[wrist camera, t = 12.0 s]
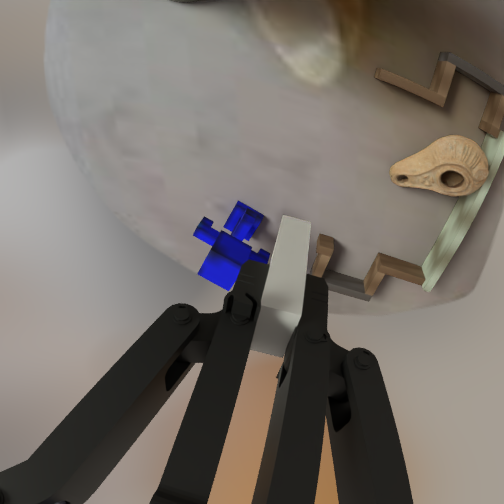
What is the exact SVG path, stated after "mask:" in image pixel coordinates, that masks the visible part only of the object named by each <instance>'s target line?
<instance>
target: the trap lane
mask: <svg viewBox="0 0 504 504" xmlns="http://www.w3.org/2000/svg"><path fill="white" fill-rule="evenodd" d="M455 70H456V71H458V72H460V73H461V74H463V75H465V76H467V77H468V78H470V79H472V80H473V81H475V82H477V83H478V84H480V85H481V86H483V87H485V88H486V89H488V90H489V91H491V92H490V95H489V99H488V102H487V105H486V108H485V111H484V114H483V116H482V119H481V122H480V125H479V128H480V129H482V130H483V131H485V132H486V136H485V139H484V141H483V144H482V146H481V149H482V150H483V152H484V153H485V155H486V157H487V160H488V171H489V174H488V176H487V179H486V181H485V182H484V184H483V185H482V186H481V187H480V188H479V189H478V190H476V191H475V192H473V193H471V194H470V195H463V196H459V198H458V200H457V202H456V205H455V207H454V209H453V210H452V212H451V214H450V216H449V218H448V220H447V222H446V224H445V226H444V228H443V230H442V231H441V233H440V235H439V237H438V239H437V241H436V242H435V244H434V246H433V248H432V249H431V251H430V253H429V255H428V256H427V258H426V260H425V261H424V263H423V265H422V266H421V267H420V266H417V265H415V264H412V263H409V262H406V261H403V260H400V259H397V258H394V257H391V256H388V255H385V254H382V253H378V254H377V256H376V258H375V260H374V262H373V264H372V266H371V268H370V270H369V272H368V273H367V275H366V277H365V279H364V281H363V280H360V279H357V278H353V277H350V276H347V275H343V274H340V273H337V272H333V271H330V270H327V269H326V266H327V264H328V262H329V260H330V257H331V255H332V253H333V251H334V240H333V238H332V237H329V236H326V235H323V234H319V237H318V239H317V251H316V253H318V254H317V257H316V259H315V262H314V264H313V266H312V269H311V271H310V275H314V276H317V277H321V278H324V279H325V281H326V283H327V285H328V290H330V291H334V292H337V293H341V294H344V295H348V296H351V297H355V298H358V299H362V300H365V301H370V299H371V297H372V296H373V294H374V292H375V291H376V289H377V287H378V286H379V284H380V282H381V280H382V279H383V277H384V275H385V274H387V275H390V276H393V277H396V278H399V279H403V280H406V281H409V282H412V283H415V284H418V285H421V286H422V288H423V290H424V291H427V292H430V291H431V290H432V288H433V287H434V285H435V284H436V282H437V280H438V279H439V277H440V276H441V274H442V273H443V271H444V270H445V268H446V266H447V265H448V263H449V262H450V260H451V258H452V257H453V255H454V253H455V252H456V250H457V248H458V247H459V245H460V243H461V241H462V240H463V238H464V236H465V234H466V233H467V231H468V229H469V227H470V225H471V224H472V222H473V220H474V218H475V216H476V214H477V212H478V210H479V208H480V206H481V204H482V202H483V200H484V198H485V196H486V194H487V192H488V190H489V188H490V186H491V184H492V182H493V179H494V177H495V175H496V173H497V170H498V168H499V166H500V163H501V161H502V159H503V156H504V132H503V131H501V130H499V128H500V125H501V122H502V119H503V116H504V86H503V85H502V84H501V83H499V82H498V81H496V80H495V79H493V78H492V77H490V76H489V75H487V74H486V73H484V72H483V71H481V70H479V69H478V68H476V67H475V66H473V65H471V64H470V63H468V62H466V61H465V60H463V59H461V58H459V57H458V56H456V55H454V54H452V53H450V52H440V56H439V59H438V63H437V66H436V69H435V73H434V76H433V79H432V82H431V86H430V89H427V88H425V87H423V86H421V85H419V84H417V83H414V82H412V81H410V80H408V79H406V78H403V77H401V76H399V75H396V74H394V73H391V72H389V71H386V70H384V69H380V68H377V69H376V73H375V76H374V78H377V79H379V80H382V81H385V82H387V83H390V84H392V85H394V86H397V87H399V88H401V89H404V90H406V91H408V92H411V93H413V94H415V95H417V96H419V97H422V98H424V99H426V100H428V101H430V102H432V103H434V104H436V105H439V106H441V107H443V106H444V103H445V100H446V97H447V94H448V91H449V88H450V85H451V81H452V78H453V75H454V72H455Z"/></svg>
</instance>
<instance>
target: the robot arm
mask: <svg viewBox="0 0 504 504" xmlns="http://www.w3.org/2000/svg"><path fill="white" fill-rule="evenodd" d="M171 1H176V2H197V1H202V0H171ZM310 229H311V222H308V221H305V220H301V219H297V218H294V217H290V216H286V215H283V217H282V220H281V224H280V228H279V232H278V236H277V239H276V243H275V247H274V251H273V254H272V258H271V262H270V265H269V264H265V263H261V262H258V261H254V260H250V259H249V260H247V261H246V262H245V263H244V264H242V266H241V269H240V271H239V274H238V277H237V280H236V282H235V285H234V287H233V290H232V291H231V292H229V293H228V294H227V295H226V296H225V298H224V304H223V310H221V311H219V312H216V313H199V312H198V311H197V309H195V308H194V307H193V306H191V305H188V304H180V303H178V304H175V305H172V306H170V307H169V308H167V309H166V310H165V312H164V313H163V314H162V315H161V316H160V317H159V318H158V319H157V320H156V321H155V322H154V323H153V324H152V325H151V326H150V327H149V328H148V329H147V330H146V332H144V333H143V335H142V336H141V337H140V338H139V339H138V340H137V341H136V342H135V343H134V344H133V345H132V346H131V347H130V348H129V349H128V350H127V351H126V353H125V354H124V355H123V356H122V357H121V358H120V359H119V360H118V361H117V362H116V363H115V364H114V365H113V366H112V367H111V369H110V370H109V371H108V372H107V373H106V374H105V375H104V376H103V377H102V378H101V379H100V380H99V381H98V382H97V384H96V385H95V386H94V387H93V388H92V389H91V390H90V391H89V392H88V393H87V394H86V396H85V397H84V398H83V399H82V400H81V401H80V402H79V403H78V404H77V405H76V406H75V407H74V409H73V410H72V411H71V412H70V413H69V414H68V415H67V416H66V417H65V419H64V420H63V421H62V422H61V423H60V424H59V425H58V426H57V427H56V428H55V430H54V431H53V432H52V433H51V434H50V435H49V436H48V437H47V438H46V440H45V441H44V442H43V443H42V444H41V445H40V446H39V448H38V449H37V450H36V451H35V452H34V453H33V454H32V455H31V457H30V458H29V459H28V460H26V461H24V462H22V463H20V464H18V465H16V466H13V467H11V468H9V469H6V470H4V471H2V472H0V504H83V503H84V502H86V500H88V499H89V498H90V496H91V495H92V494H93V493H94V492H95V491H96V490H97V489H98V487H99V486H100V485H101V484H102V482H103V481H104V480H105V479H106V477H107V476H108V475H109V474H110V472H111V471H112V470H113V468H114V467H115V466H116V465H117V464H118V462H119V461H120V460H121V459H122V457H123V456H124V455H125V453H126V452H127V451H128V450H129V449H130V447H131V446H132V445H133V443H134V442H135V441H136V440H137V438H138V437H139V436H140V434H141V433H142V432H143V431H144V429H145V428H146V427H147V426H148V424H149V423H150V422H151V420H152V419H153V418H154V417H155V415H156V414H157V413H158V411H159V410H160V409H161V407H162V406H163V405H164V404H165V402H166V401H167V400H168V398H169V397H170V396H171V394H172V393H173V392H174V390H175V389H176V388H177V387H178V385H179V384H180V383H181V381H182V380H183V379H184V377H185V376H186V375H187V373H188V372H189V371H190V370H191V368H192V367H193V366H194V364H195V363H203V366H202V369H201V371H200V374H199V377H198V380H197V382H196V385H195V388H194V391H193V393H192V396H191V399H190V401H189V404H188V407H187V409H186V412H185V415H184V418H183V420H182V423H181V426H180V429H179V431H178V434H177V437H176V440H175V442H174V445H173V448H172V451H171V454H170V456H169V459H168V462H167V465H166V467H165V470H164V473H163V476H162V478H161V482H160V484H159V487H158V489H157V490H156V492H155V493H154V495H153V497H152V499H151V501H150V504H207V502H208V498H209V495H210V492H211V488H212V485H213V481H214V478H215V474H216V471H217V467H218V464H219V460H220V457H221V453H222V449H223V446H224V443H225V439H226V435H227V432H228V428H229V425H230V421H231V417H232V413H233V410H234V407H235V403H236V399H237V395H238V392H239V388H240V385H241V381H242V377H243V373H244V370H245V366H246V362H247V358H248V354H249V351H250V350H254V351H258V352H262V353H266V354H270V355H274V356H278V357H282V358H283V356H284V354H285V356H284V362H283V364H282V366H281V368H280V370H279V372H278V374H277V377H276V378H278V384H277V389H276V394H275V399H274V404H273V409H272V414H271V419H270V424H269V429H268V434H267V438H266V443H265V448H264V452H263V457H262V461H261V465H260V470H259V474H258V478H257V483H256V487H255V491H254V495H253V500H252V504H314V502H315V496H316V489H317V483H318V475H319V468H320V461H321V452H322V444H323V435H324V425H325V416H326V419H327V425H328V431H329V437H330V444H331V450H332V457H333V464H334V471H335V478H336V485H337V493H338V500H339V504H413V499H412V495H411V489H410V484H409V479H408V474H407V470H406V465H405V461H404V457H403V452H402V448H401V444H400V440H399V435H398V432H397V428H396V424H395V420H394V416H393V413H392V409H391V405H390V402H389V398H388V395H387V391H386V388H385V384H384V381H383V377H382V374H381V371H380V367H379V364H378V361H377V359H376V357H375V355H373V354H372V353H371V352H370V351H369V350H366V349H364V348H353V349H352V350H351V351H348V350H346V349H344V348H342V347H340V346H339V345H337V344H336V343H334V342H333V341H332V340H331V338H330V335H329V333H328V331H327V316H328V285H327V283H326V281H325V279H324V278H321V277H317V276H314V275H310V274H306V271H307V261H308V251H309V240H310Z"/></svg>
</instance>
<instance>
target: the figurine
mask: <svg viewBox="0 0 504 504" xmlns="http://www.w3.org/2000/svg"><path fill="white" fill-rule="evenodd" d="M263 217H264V215H263V214H261V213H259V212H257V211H256V210H254V209H252V208H250V207H249V206H247V205H245V204H243V203H242V202H240V201H238V202H237V204H236V205H235V207H234V209H233V211H232V212H231V214H230V216H229V218H228V219H227V221H226V223H225V225H224V228H226V229H228V230H230V231H232V233H231V235H229V234H228V233H226V232H224V231H222V230H221V232H218V231H216V230H215V229H213V228H211V226H212V224H213V221H211V220H210V219H208V218H206V217H204V218H203V219H202V221H201V222H200V223H199V225H198V226H197V228H196V230H195V232H194V234H193V236H195V237H197V238H198V239H200V240H202V241H204V242H206V243H207V244H209V245H211V246H212V248H211V250H210V252H209V254H208V255H207V257H206V259H205V261H204V263H203V264H202V266H201V268H200V270H199V272H198V275H200V276H202V277H204V278H205V279H207V280H209V281H211V282H213V283H214V284H216V285H218V286H220V287H222V288H224V289H226V290H227V291H229V290H230V289H231V287H232V286H233V284H234V283H235V281H236V280H237V277H238V274H239V271H240V269H241V266H242V264H244V263H245V262H246V261H247V260H249V259H250V260H254V261H258V262H261V263H265V264H267V263H268V259H269V256H270V253H268V252H267V251H265V250H263V249H260V250H259V252H258V253H256V252H254V251H252V250H251V249H252V247H251V246H249V245H247V244H245V243H244V242H242V241H243V239H246V240H248V241H249V240H250V238H251V236H252V235H253V233H254V232H255V230H256V229H257V227H258V226H259V224H260V223H261V221H262V219H263Z"/></svg>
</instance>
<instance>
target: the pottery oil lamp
mask: <svg viewBox="0 0 504 504" xmlns="http://www.w3.org/2000/svg"><path fill="white" fill-rule="evenodd" d="M389 174H390V178H391V180H392V182H393V183H395V184H397V185H398V186H401V187H413V188H422V189H428V190H432V191H435V192H438V193H441V194H444V195H449V196H454V197H456V196H463V195H470V194H471V193H473V192H475V191H476V190H478V189H479V188H480V187H481V186H482V185H483V184H484V182H485V181H486V179H487V176H488V174H489V171H488V160H487V157H486V155H485V153H484V152H483V150H482V149H481V148H480V147H479V146H478V144H477V143H476V142H474V141H473V140H471V139H469V138H466V137H463V136H459V135H448V136H445V137H441V138H439V139H437V140H436V141H434V142H433V143H432V144H430V145H429V146H427V147H426V148H425V149H423V150H422V151H420V152H418V153H416V154H414V155H412V156H409V157H407V158H405V159H403V160H401V161H398V162H397V163H395V164H394V165H393V166H391V168H390V172H389Z"/></svg>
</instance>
